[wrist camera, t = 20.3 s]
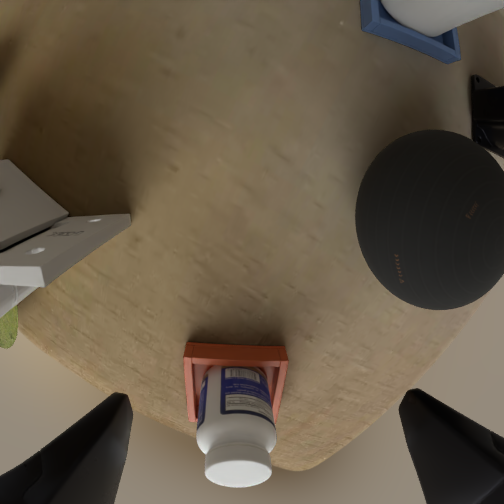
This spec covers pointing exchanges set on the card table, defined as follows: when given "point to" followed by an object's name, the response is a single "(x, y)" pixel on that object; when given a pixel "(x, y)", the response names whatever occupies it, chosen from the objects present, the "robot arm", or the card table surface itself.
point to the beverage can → (438, 13)
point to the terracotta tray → (209, 355)
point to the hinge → (42, 236)
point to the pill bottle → (236, 426)
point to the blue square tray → (408, 33)
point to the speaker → (433, 219)
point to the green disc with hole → (8, 328)
